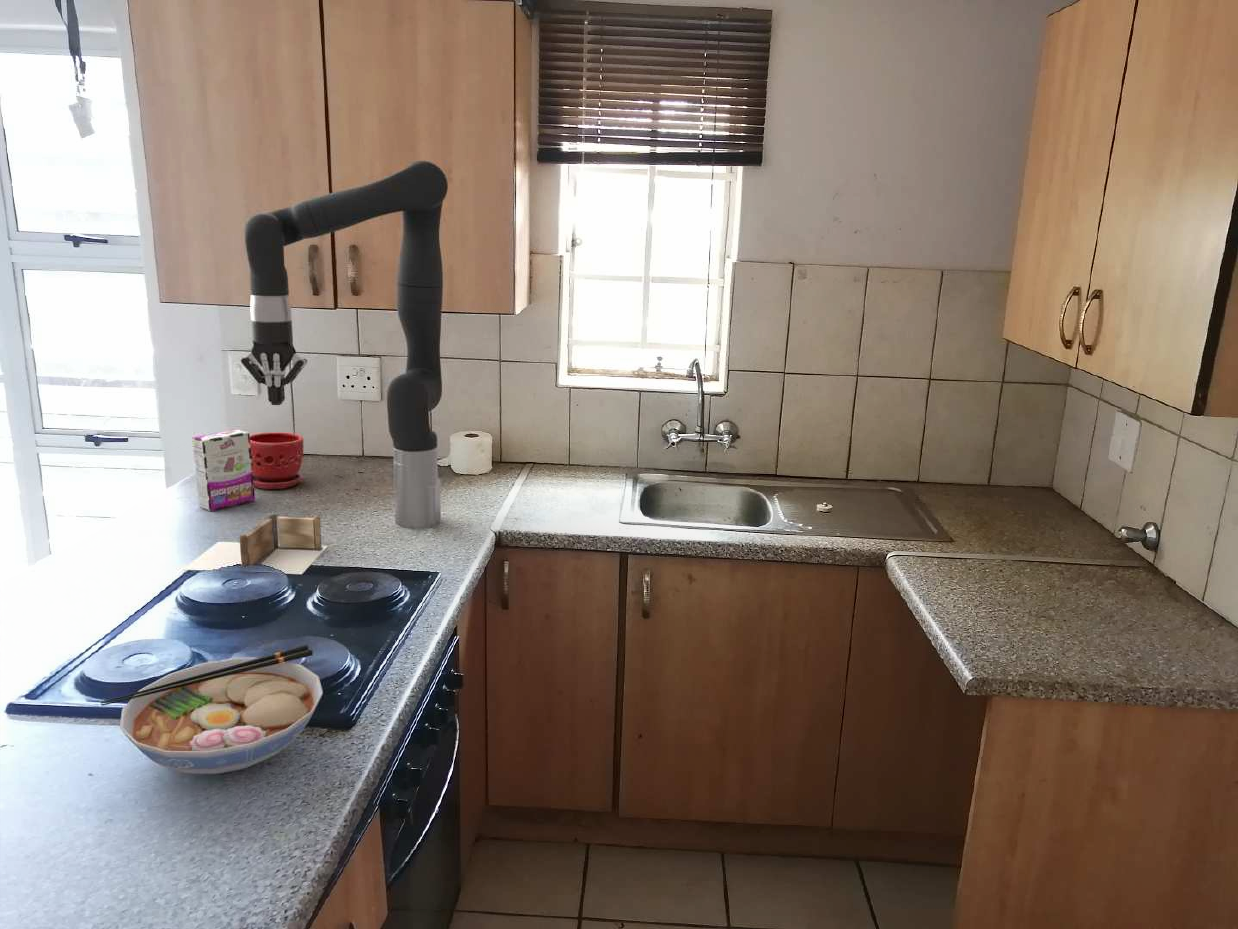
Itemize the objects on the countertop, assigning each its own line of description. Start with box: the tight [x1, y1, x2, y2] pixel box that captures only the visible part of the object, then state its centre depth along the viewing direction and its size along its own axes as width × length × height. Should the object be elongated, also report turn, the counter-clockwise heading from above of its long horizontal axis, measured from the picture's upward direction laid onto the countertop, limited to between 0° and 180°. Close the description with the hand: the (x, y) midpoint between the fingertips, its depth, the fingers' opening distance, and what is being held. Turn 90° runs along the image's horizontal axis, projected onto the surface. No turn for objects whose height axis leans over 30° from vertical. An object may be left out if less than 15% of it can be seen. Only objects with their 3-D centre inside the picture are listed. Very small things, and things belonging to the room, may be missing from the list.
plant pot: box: [249, 432, 304, 490], centre depth 222 cm, size 13×13×12 cm
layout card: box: [182, 541, 329, 575], centre depth 175 cm, size 22×15×1 cm
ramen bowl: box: [100, 644, 324, 775], centre depth 112 cm, size 25×23×8 cm
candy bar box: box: [192, 429, 256, 512], centre depth 205 cm, size 11×5×16 cm, turn 143°
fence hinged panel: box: [238, 518, 274, 567], centre depth 173 cm, size 12×1×6 cm, turn 176°
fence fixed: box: [267, 513, 323, 550], centre depth 180 cm, size 10×2×7 cm, turn 89°
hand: (276, 404), depth 184 cm, fingers closed
